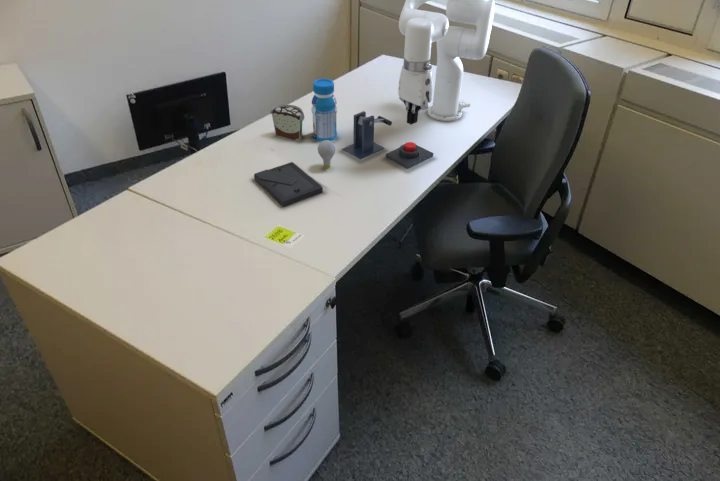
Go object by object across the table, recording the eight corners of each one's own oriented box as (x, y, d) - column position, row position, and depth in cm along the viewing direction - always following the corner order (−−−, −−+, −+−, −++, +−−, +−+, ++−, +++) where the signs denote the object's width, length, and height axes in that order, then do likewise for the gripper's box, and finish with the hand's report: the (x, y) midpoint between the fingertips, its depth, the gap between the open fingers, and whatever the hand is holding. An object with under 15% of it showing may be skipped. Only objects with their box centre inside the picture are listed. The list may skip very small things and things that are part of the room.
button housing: (410, 147, 182) (411, 137, 180) (432, 159, 177) (434, 148, 174) (385, 159, 176) (385, 148, 173) (407, 171, 170) (408, 160, 168)
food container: (312, 135, 188) (310, 108, 182) (303, 142, 184) (301, 115, 178) (281, 127, 192) (279, 101, 186) (272, 135, 188) (269, 108, 182)
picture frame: (254, 179, 165) (283, 207, 154) (253, 173, 164) (282, 200, 153) (292, 167, 171) (322, 192, 160) (292, 160, 170) (322, 186, 159)
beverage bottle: (325, 146, 182) (323, 89, 170) (307, 138, 187) (304, 82, 174) (342, 138, 187) (342, 82, 175) (325, 130, 191) (323, 75, 179)
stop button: (409, 145, 176) (409, 140, 175) (417, 149, 174) (418, 144, 173) (401, 149, 174) (402, 144, 173) (410, 153, 172) (410, 148, 171)
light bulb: (329, 176, 168) (328, 147, 161) (315, 171, 170) (313, 142, 164) (339, 168, 171) (338, 140, 165) (325, 163, 173) (324, 135, 167)
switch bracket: (366, 141, 186) (366, 106, 178) (384, 150, 180) (386, 115, 172) (341, 151, 180) (341, 116, 172) (360, 162, 174) (361, 125, 167)
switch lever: (379, 121, 183) (381, 114, 182) (391, 127, 180) (393, 120, 179) (354, 121, 174) (355, 114, 173) (365, 127, 171) (367, 120, 170)
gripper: (444, 68, 155) (438, 127, 166) (406, 54, 163) (402, 111, 174) (427, 74, 150) (421, 134, 162) (388, 60, 159) (386, 118, 170)
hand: (411, 122), depth 168 cm, fingers closed
